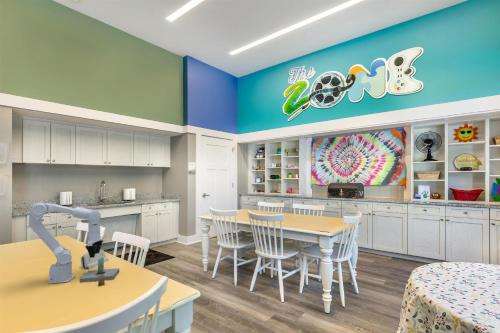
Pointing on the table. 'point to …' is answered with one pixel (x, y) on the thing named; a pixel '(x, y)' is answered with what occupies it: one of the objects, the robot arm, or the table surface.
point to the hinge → (92, 259)
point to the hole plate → (93, 275)
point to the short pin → (101, 280)
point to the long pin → (100, 266)
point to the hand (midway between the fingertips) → (94, 255)
